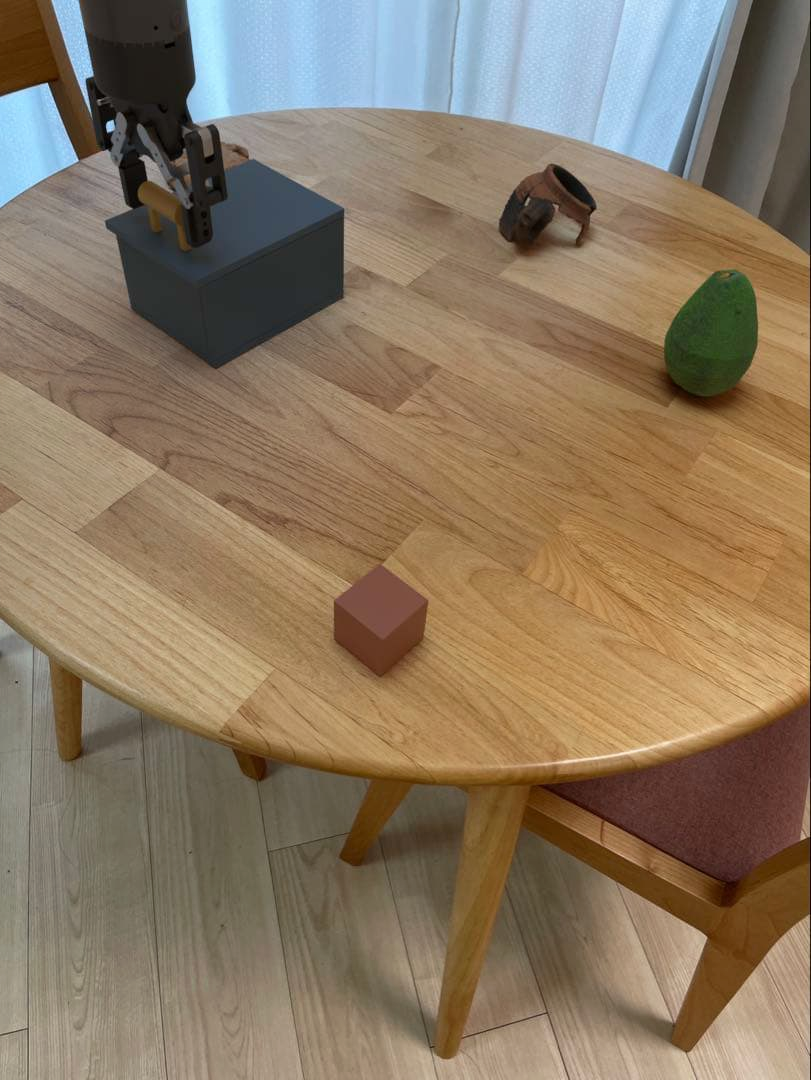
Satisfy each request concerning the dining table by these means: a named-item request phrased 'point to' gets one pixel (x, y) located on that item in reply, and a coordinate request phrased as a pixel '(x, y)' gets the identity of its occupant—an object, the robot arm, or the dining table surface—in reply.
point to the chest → (239, 294)
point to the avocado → (713, 335)
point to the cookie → (230, 155)
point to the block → (379, 619)
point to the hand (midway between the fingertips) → (169, 223)
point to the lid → (225, 222)
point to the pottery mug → (546, 204)
